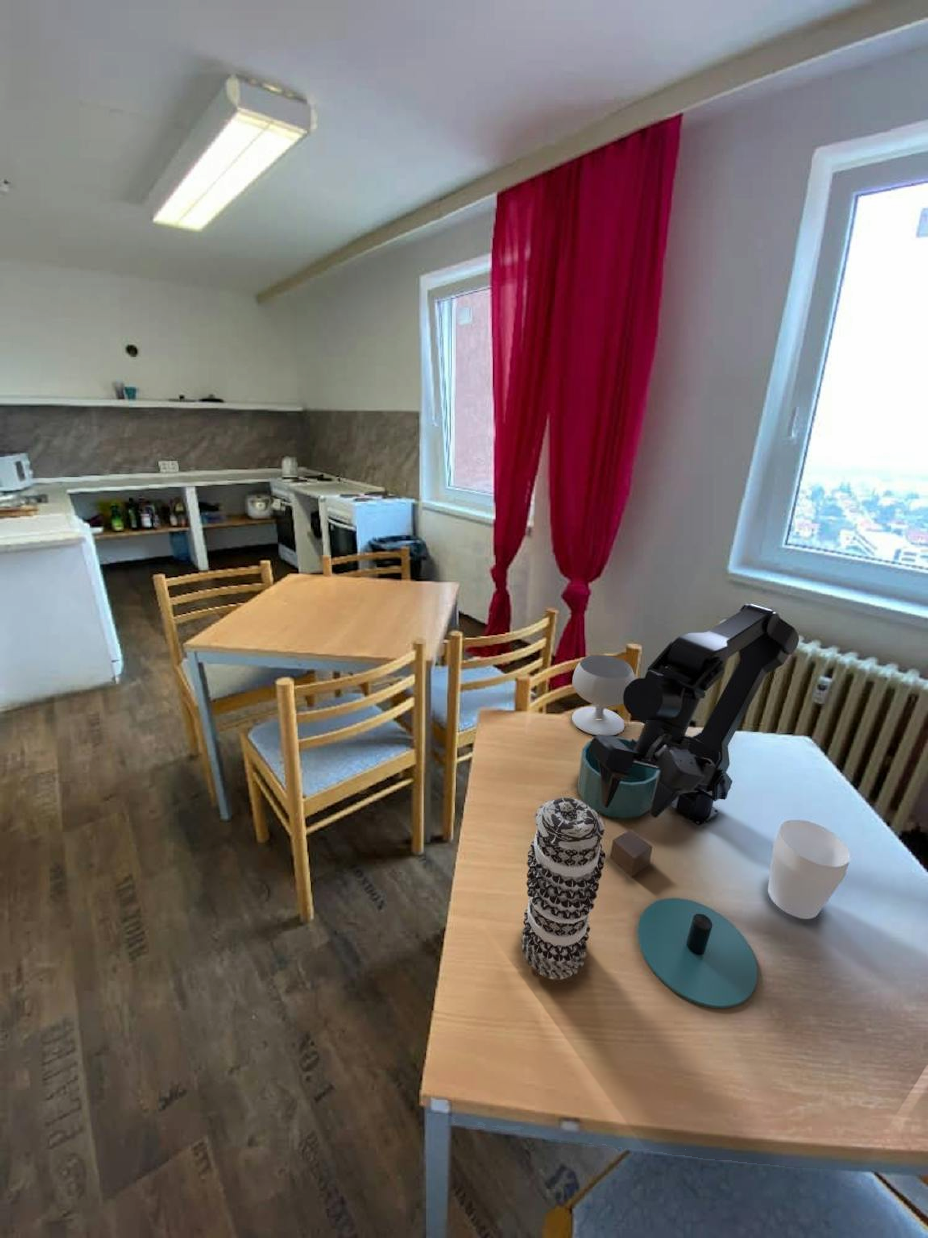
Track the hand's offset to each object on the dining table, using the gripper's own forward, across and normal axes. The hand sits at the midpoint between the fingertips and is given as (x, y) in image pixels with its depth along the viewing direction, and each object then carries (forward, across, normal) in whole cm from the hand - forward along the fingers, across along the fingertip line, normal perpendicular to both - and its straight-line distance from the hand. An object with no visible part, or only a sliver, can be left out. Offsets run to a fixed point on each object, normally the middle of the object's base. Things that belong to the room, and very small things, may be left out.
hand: (629, 811), depth 80 cm
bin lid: (+11, +8, -13) cm, 19 cm away
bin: (+5, +11, +18) cm, 21 cm away
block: (+10, +6, +2) cm, 12 cm away
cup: (+4, +26, -10) cm, 28 cm away
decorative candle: (+18, -10, -9) cm, 23 cm away
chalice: (-1, +17, +40) cm, 44 cm away
